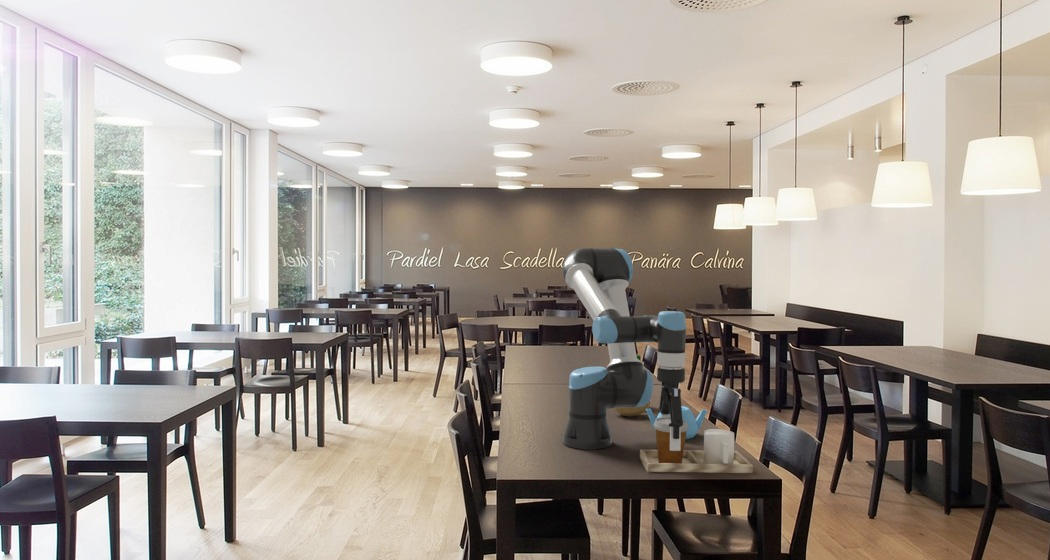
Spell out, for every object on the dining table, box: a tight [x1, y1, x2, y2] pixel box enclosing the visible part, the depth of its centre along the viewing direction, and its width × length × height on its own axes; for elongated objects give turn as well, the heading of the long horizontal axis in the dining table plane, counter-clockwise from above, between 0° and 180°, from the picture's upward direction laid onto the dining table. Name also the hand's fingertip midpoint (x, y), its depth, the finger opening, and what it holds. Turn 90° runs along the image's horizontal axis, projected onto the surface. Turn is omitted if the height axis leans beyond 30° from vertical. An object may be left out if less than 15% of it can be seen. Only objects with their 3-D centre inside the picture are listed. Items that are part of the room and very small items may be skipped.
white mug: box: [703, 428, 735, 464], centre depth 184 cm, size 8×11×9 cm
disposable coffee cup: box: [653, 417, 689, 463], centre depth 186 cm, size 10×10×12 cm
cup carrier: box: [639, 449, 754, 474], centre depth 185 cm, size 28×14×2 cm, turn 89°
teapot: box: [645, 405, 708, 440], centre depth 220 cm, size 15×15×11 cm
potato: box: [613, 401, 651, 417], centre depth 247 cm, size 10×14×8 cm
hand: (670, 443), depth 185 cm, fingers open, 13 cm apart
